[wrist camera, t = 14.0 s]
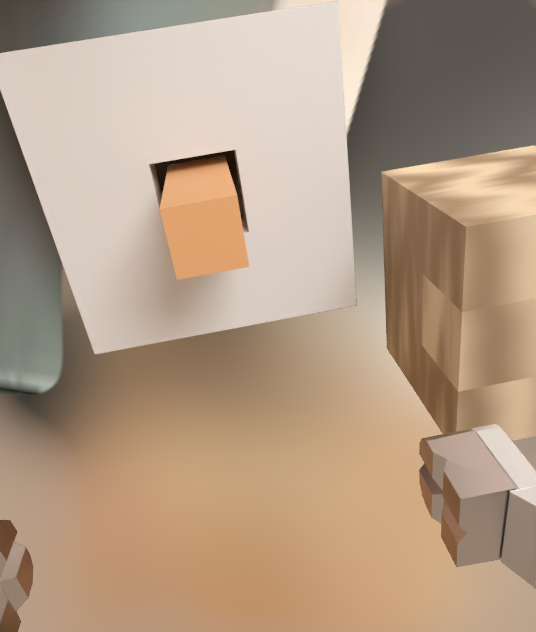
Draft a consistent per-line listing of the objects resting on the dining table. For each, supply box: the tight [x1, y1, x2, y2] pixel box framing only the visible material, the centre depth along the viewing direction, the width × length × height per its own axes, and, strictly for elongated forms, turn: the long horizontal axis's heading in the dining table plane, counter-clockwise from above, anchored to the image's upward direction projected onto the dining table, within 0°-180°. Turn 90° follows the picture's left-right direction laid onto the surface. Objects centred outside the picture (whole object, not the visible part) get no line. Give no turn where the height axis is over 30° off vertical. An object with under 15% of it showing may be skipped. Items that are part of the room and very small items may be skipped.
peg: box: [160, 155, 249, 280], centre depth 29 cm, size 4×4×10 cm
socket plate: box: [0, 1, 357, 354], centre depth 32 cm, size 18×18×3 cm
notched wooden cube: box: [381, 145, 536, 441], centre depth 33 cm, size 14×14×12 cm
